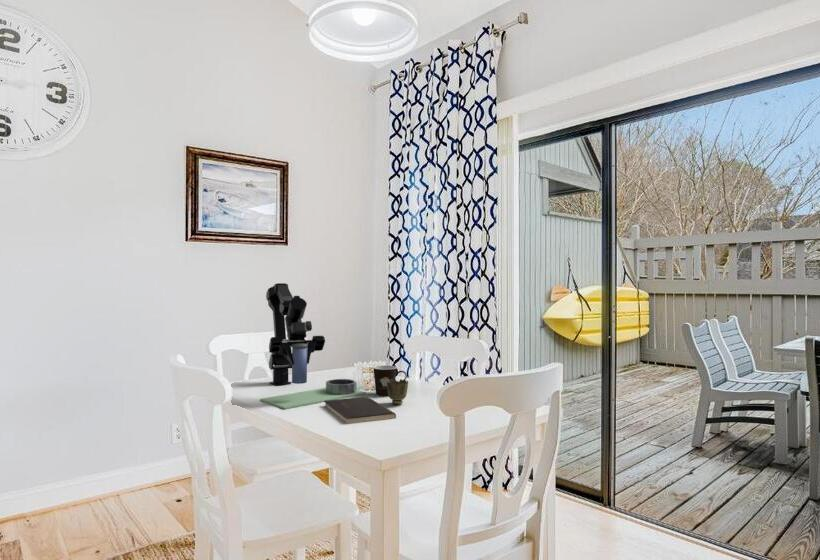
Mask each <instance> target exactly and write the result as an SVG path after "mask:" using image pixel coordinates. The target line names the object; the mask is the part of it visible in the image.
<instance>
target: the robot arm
mask: <svg viewBox="0 0 820 560" xmlns="http://www.w3.org/2000/svg"><path fill="white" fill-rule="evenodd" d="M265 297H266V298H265V299H266V301H267V303H268V305H267V306H268V307H269V308H270V309H271V311H272V317H273V319H272V320H273V334H274V336H271V337H270V338H269V344H268V351H269V353H270V357H269V361H268V368H269V369H270V370H272V381H269V384H271V385H274V386H284V385H291V384H293V383H292V381H289V374H290V373H289V369H292V365H293V358H292V344H296V343H305V344H308V347H307V365H309V363H310V359H311V355H312V353H314V352H320V351H322V350H323V349H324V346H325V343H326V339H325V336H324V335H313V336H312V339H305V338H307V332H311V331H312V330H313V325H312V321H311V320H310V321H309V320H306V321H305V322H303V321H302V319H303V318H304V316H305V312H306V308H307V304H308V303H307V301H306V300H305V299H303V298H302V297H301V296H300V295H292V293H291V291H290V289H289V284H288V283H286V282H285V283H284V282H283V283H282V282H279V283H274V285H273V286H271V287H269V288H268V289H267V291H266V295H265Z"/></svg>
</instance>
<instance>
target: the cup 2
mask: <svg viewBox="0 0 820 560" xmlns="http://www.w3.org/2000/svg"><path fill="white" fill-rule="evenodd" d="M408 387H409V381H408V380H407V379H405V378H404V379H402V378H401V379H399V380H398V381H397V379H396V378H395V380H393V379H391V381H390V380H389V381H388V380H387V391H388V397H389V399H390V400H391V404H392V405H394V406H395V405H396V406H399V405H402V404H403V402H404V401H403V400H404V399H406V397H407V393H408Z"/></svg>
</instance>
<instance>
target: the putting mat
mask: <svg viewBox="0 0 820 560" xmlns="http://www.w3.org/2000/svg"><path fill="white" fill-rule="evenodd" d="M366 393H367V392H366V391H363V390H359V389H356V392H355V393H352V394H346V395H334V394H329V393H327V392H326V387H322V388H316V389H315V388H314V389H311V390H310V389H309V390H305V391H297V392H294V393H287V394H279V395H276V396H269V397H265V398H259V401H260V402H262V403H266V404H268V405H272V406H274V407H277V408H280V409H283V410H290V409H295V408H301V407H303V406H304V407H305V406H310V405H315V404H320V403H325V402H324V401H327V400H337V399H348V398H353V397H357V396H361V395H365V394H366Z"/></svg>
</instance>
